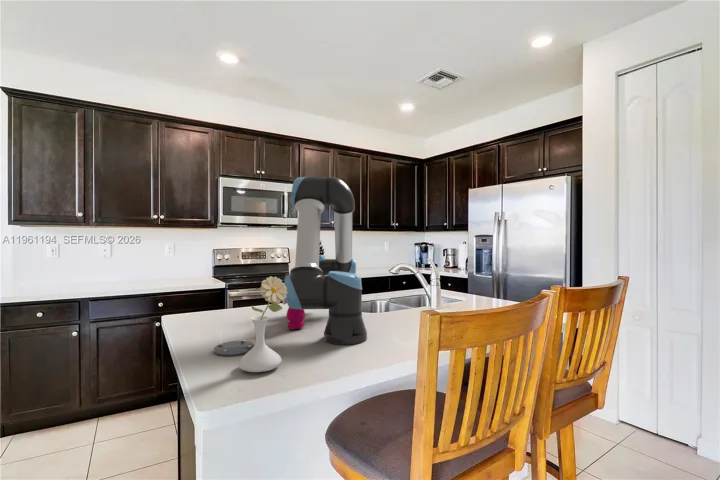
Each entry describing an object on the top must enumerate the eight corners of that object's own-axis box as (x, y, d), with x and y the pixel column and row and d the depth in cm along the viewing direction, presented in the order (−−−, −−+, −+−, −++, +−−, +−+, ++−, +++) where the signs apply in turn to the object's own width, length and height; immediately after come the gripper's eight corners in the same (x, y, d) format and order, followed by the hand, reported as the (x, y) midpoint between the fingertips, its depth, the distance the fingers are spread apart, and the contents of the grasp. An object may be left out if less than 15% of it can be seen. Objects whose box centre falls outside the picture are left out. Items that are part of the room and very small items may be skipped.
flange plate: (260, 345, 117) (260, 340, 117) (242, 357, 106) (242, 352, 106) (227, 343, 119) (227, 338, 119) (205, 355, 108) (205, 349, 108)
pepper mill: (290, 324, 142) (290, 274, 142) (307, 325, 141) (307, 274, 141) (283, 328, 135) (283, 276, 135) (301, 329, 134) (301, 276, 134)
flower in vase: (240, 379, 89) (239, 280, 89) (236, 364, 100) (235, 275, 99) (291, 371, 94) (291, 277, 94) (283, 358, 105) (282, 273, 105)
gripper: (330, 300, 154) (313, 311, 131) (290, 299, 158) (268, 310, 135) (330, 283, 154) (313, 291, 131) (290, 282, 158) (268, 290, 135)
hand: (290, 300), depth 133 cm, fingers closed on pepper mill, 5 cm apart
